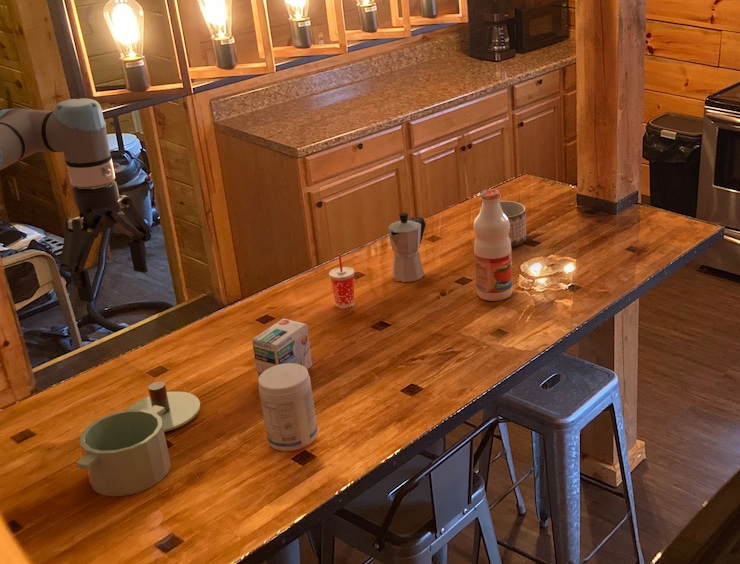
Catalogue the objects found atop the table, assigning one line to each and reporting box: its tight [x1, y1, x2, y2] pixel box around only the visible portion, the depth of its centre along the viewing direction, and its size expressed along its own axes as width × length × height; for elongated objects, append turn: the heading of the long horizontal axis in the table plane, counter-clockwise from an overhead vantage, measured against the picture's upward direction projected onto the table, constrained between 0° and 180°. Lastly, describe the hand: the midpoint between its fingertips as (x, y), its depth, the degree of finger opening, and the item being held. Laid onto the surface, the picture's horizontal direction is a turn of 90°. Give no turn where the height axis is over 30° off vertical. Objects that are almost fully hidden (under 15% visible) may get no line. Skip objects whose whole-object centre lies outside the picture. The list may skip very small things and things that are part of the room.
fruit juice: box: [473, 188, 514, 302], centre depth 240 cm, size 9×9×28 cm
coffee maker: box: [387, 212, 427, 283], centre depth 252 cm, size 15×9×18 cm, turn 155°
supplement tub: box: [257, 363, 319, 452], centre depth 184 cm, size 10×10×15 cm
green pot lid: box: [126, 381, 201, 433], centre depth 193 cm, size 15×15×7 cm
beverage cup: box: [328, 253, 356, 309], centre depth 237 cm, size 6×6×14 cm
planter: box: [499, 200, 527, 248], centre depth 274 cm, size 13×13×10 cm
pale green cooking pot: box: [75, 405, 172, 497], centre depth 175 cm, size 14×19×10 cm
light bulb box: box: [251, 317, 313, 379], centre depth 207 cm, size 11×7×11 cm, turn 158°
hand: (114, 285), depth 185 cm, fingers open, 13 cm apart
